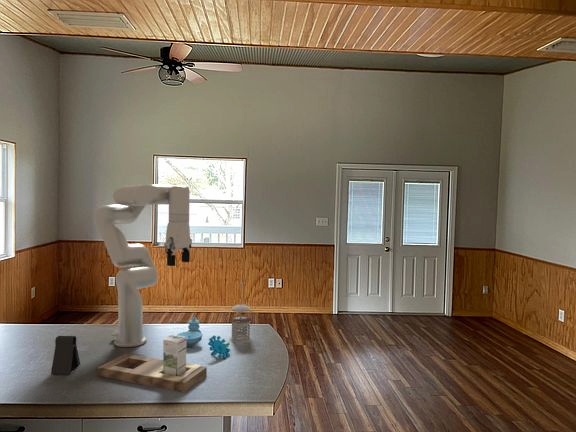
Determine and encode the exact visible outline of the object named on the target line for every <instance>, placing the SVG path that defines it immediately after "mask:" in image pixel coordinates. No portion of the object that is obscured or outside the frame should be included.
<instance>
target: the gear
mask: <svg viewBox="0 0 576 432" xmlns="http://www.w3.org/2000/svg"><path fill="white" fill-rule="evenodd" d="M221 338H222V337H221V336H220V335H218V336H216V335H213V336H212V337H210V338H209V339H208V341H209V342H208V343H207V345H208V346H210V347H209V351H212V352H210V355H211V356H216V355H217V358H218V359H224V360H225V359H227V357H229V356H230V352H231V349H230V348H229V346H230V344H231V342H230V341H229V342H227V343H225V342H226V340H225V338H223V339H221ZM220 339H221V340H220Z"/></svg>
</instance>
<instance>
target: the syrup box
mask: <svg viewBox="0 0 576 432" xmlns="http://www.w3.org/2000/svg"><path fill="white" fill-rule="evenodd" d="M162 343H163V344H162V345H163V346H162V349H163V350H162V351H163V354H162V355H163V359H162V360H163V374H167V375H173V376H181V375H182V374H183V373H185V372H186V363H187V346H186V337H183V336H177V334H176V335H174V334H171V335H169V336H166V337H165V338H163V342H162Z"/></svg>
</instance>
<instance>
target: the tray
mask: <svg viewBox="0 0 576 432" xmlns="http://www.w3.org/2000/svg"><path fill="white" fill-rule="evenodd" d="M128 367H132V368H128ZM207 368H208V367H207V366H204V365H203V366H202V364H195V363H191V362H190V363H189V362H186V372H185V373H183V374H182V375H181V376H173V375H167V374H163V359H160V358H153V357H147V356H141V355H136V354H130V353H124V354H123V355H120V356H118V357H116V358H114V359H112V360H111V361H108V362H106V363H104V364H102V365H100V366H98V367H97V376H98V377H101V378H107V379H113V380H118V381H122V382H128V383H132V384H133V383H134V384H140V385H145V386H151V387H153V388H154V387H155V388H161V389H166V390H171V391H175V392H176V391H177V392H181V393H186V392H187V391H188V390H190V389H191V388H193V387H194V386H195V385H196V384H198V383H199V382H200V381H202V380H203V379H204V378H206V377H207V373H208V372H207Z"/></svg>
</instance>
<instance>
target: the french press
mask: <svg viewBox="0 0 576 432" xmlns="http://www.w3.org/2000/svg"><path fill="white" fill-rule="evenodd" d="M239 286H240V297H242V295H243V294H242V293H243V292H242V291H243V290H242V286H245V285H244V282H240V283H239ZM231 310H232V311H234V312H235V313H236V312H239V313H242V312H243V313H244V312H247V314H250V317H251V318H250V317H249V316H248V315H244V314H243V315H242V314H240V315H234V316H233V317H232V320H231V337H230V338H229V340H228V341H229V343H234V344H246V343H249V342H250V343H251V342H252V341H253V339H252V338H251V335H250V333H251V332H250V328H251V327H252V326H253V324H254V321H255V319H253V316H255V314H254V312H253V311H252V310H251V307H250V306H248V305H246V304H242V303H240V304H236V305H234V306H233V307H231ZM250 319H251V320H250ZM251 323H252V324H251Z"/></svg>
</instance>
